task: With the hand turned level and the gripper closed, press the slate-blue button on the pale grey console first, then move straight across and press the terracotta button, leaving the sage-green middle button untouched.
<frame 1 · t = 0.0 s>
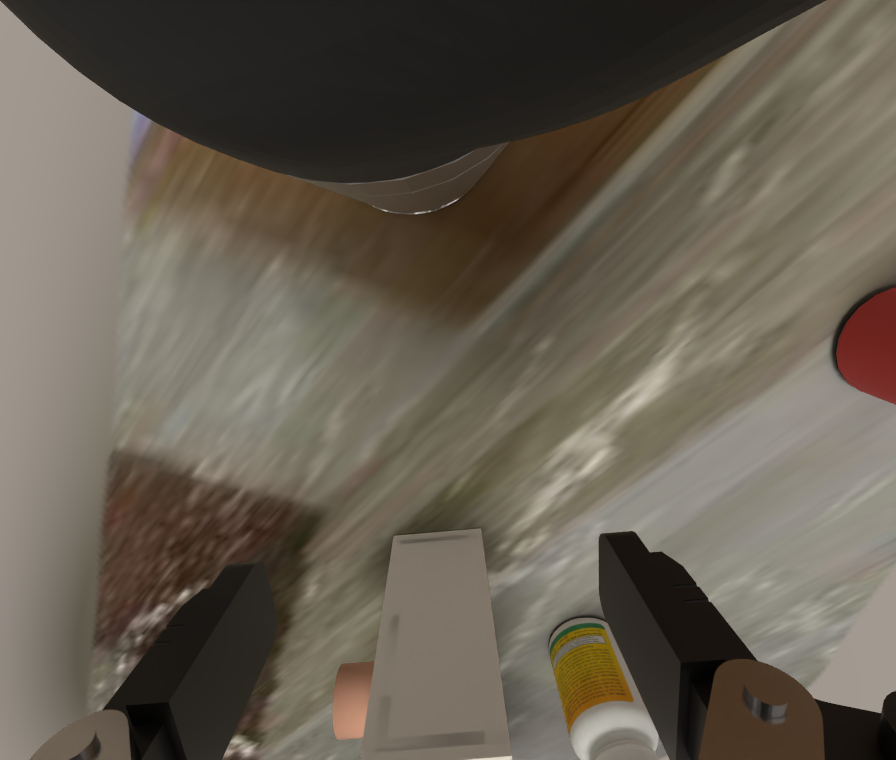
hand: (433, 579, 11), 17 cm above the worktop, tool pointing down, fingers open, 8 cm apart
beer can: (881, 337, 27), on the worktop
console: (451, 652, 34), on the worktop
supplement bottle: (581, 639, 34), on the worktop
terracotta button: (376, 697, 23), point 9 cm above the worktop, slide at 0.0 cm
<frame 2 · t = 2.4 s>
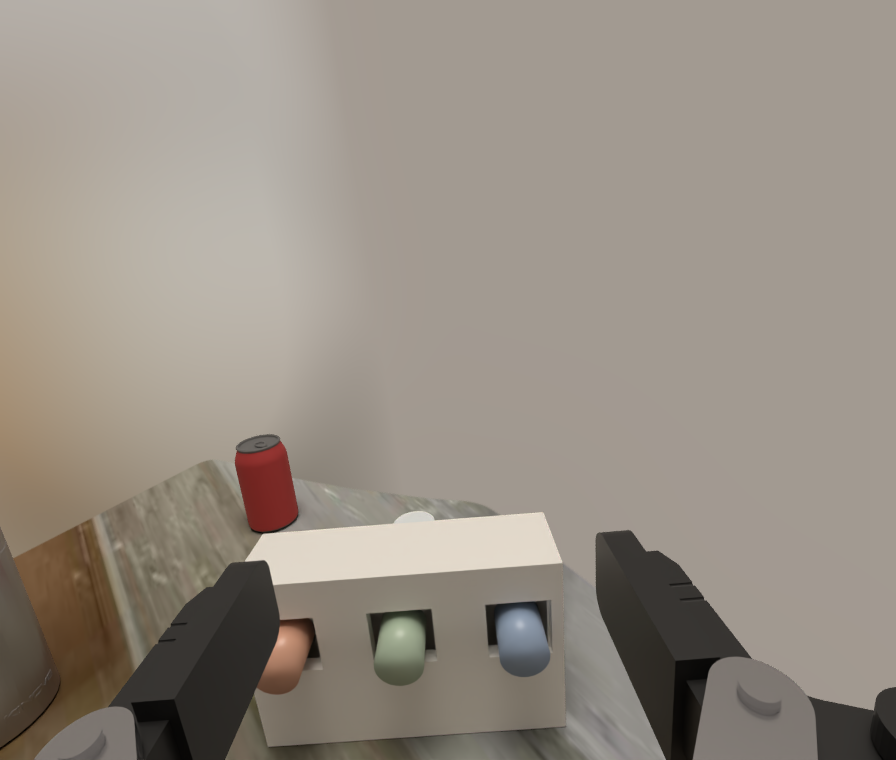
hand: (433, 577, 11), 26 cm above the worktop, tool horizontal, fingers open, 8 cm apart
sage button: (401, 642, 30), point 9 cm above the worktop, slide at 0.0 cm
beer can: (275, 521, 63), on the worktop
blue button: (520, 634, 30), point 9 cm above the worktop, slide at 0.0 cm
console: (418, 698, 36), on the worktop
supplement bottle: (424, 606, 46), on the worktop
terracotta button: (284, 651, 30), point 9 cm above the worktop, slide at 0.0 cm
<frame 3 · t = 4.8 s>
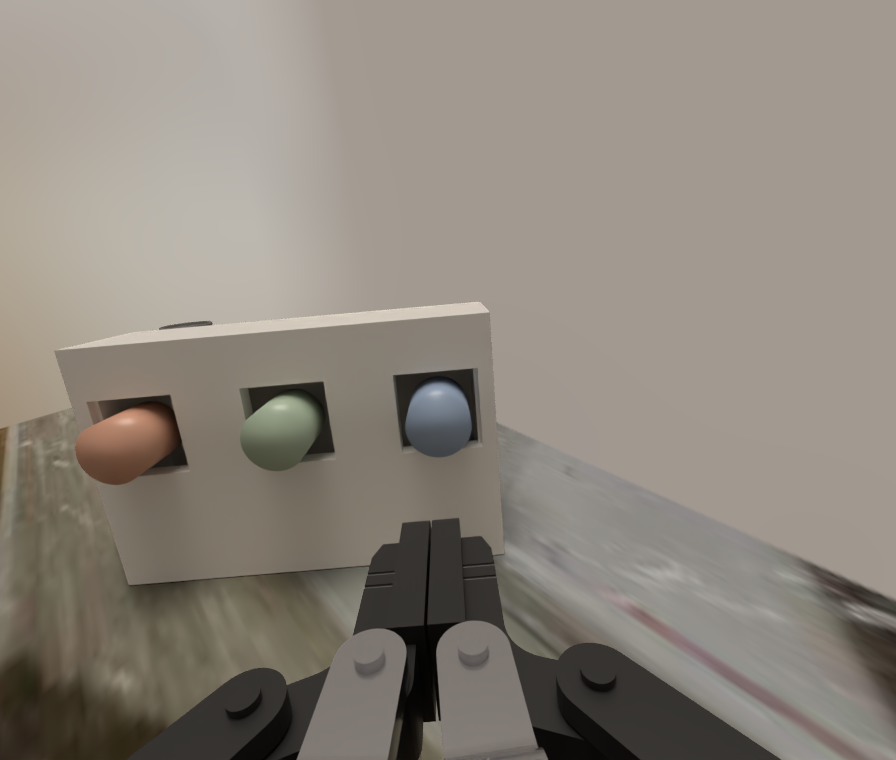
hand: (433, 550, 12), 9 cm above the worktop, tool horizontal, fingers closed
sage button: (286, 427, 23), point 9 cm above the worktop, slide at 0.0 cm
blue button: (438, 414, 23), point 9 cm above the worktop, slide at 0.0 cm
console: (328, 538, 29), on the worktop
terracotta button: (134, 440, 23), point 9 cm above the worktop, slide at 0.0 cm
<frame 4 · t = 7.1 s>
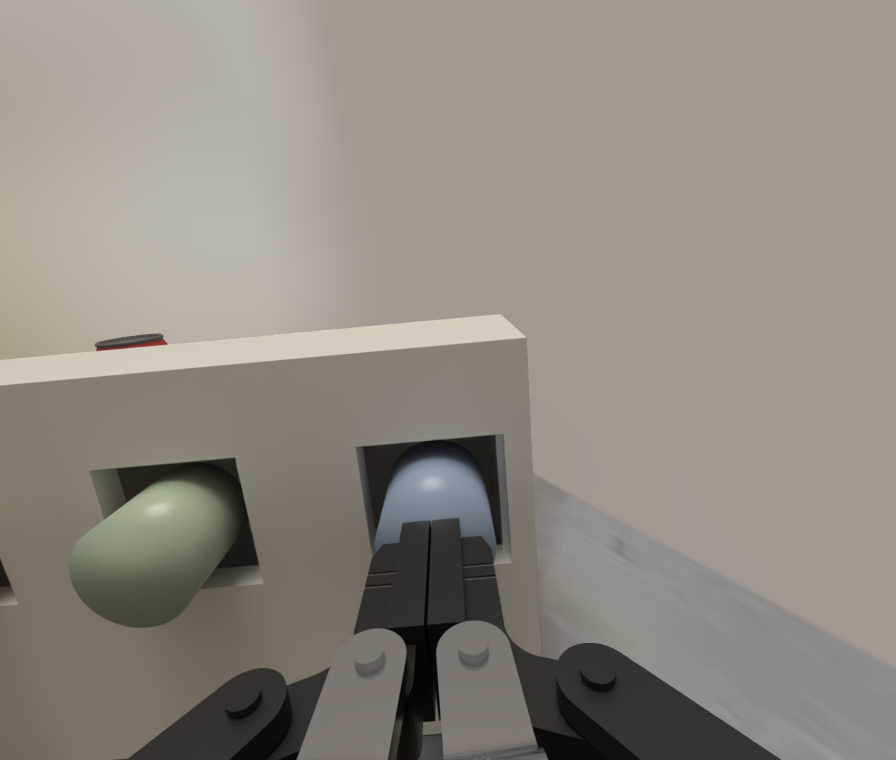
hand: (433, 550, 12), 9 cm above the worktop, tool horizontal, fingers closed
sage button: (171, 536, 14), point 9 cm above the worktop, slide at 0.0 cm
beer can: (161, 454, 46), on the worktop
blue button: (436, 512, 14), point 9 cm above the worktop, slide at 0.1 cm, touching gripper
console: (270, 675, 19), on the worktop
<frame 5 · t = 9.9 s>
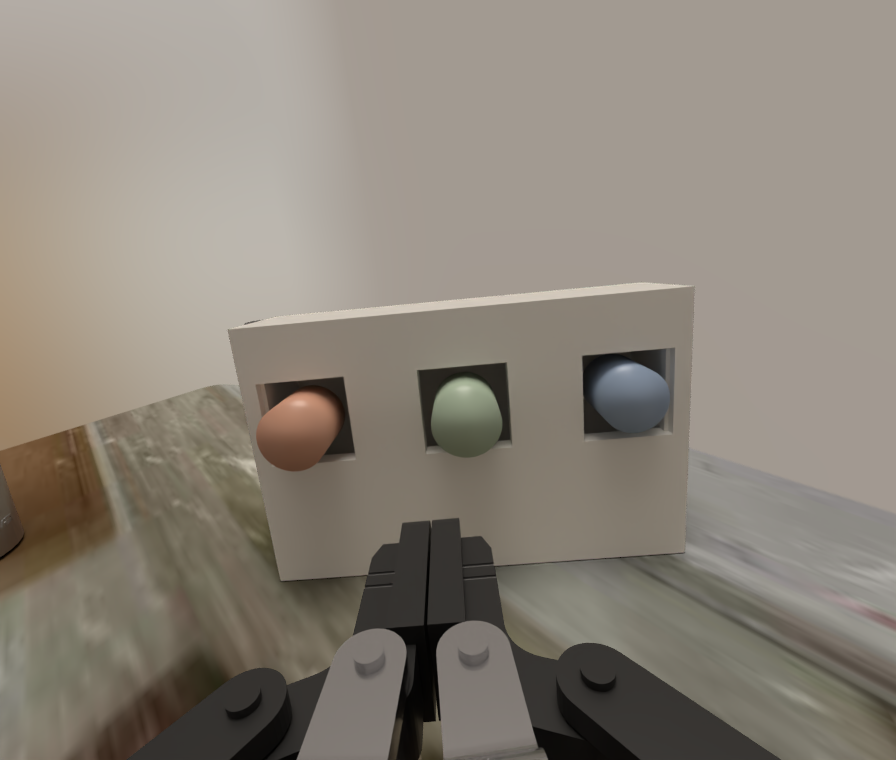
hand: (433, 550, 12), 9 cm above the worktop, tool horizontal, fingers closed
sage button: (465, 412, 22), point 9 cm above the worktop, slide at 0.0 cm
blue button: (621, 390, 23), point 9 cm above the worktop, slide at 1.3 cm
console: (476, 535, 27), on the worktop
terracotta button: (304, 425, 22), point 9 cm above the worktop, slide at 0.0 cm
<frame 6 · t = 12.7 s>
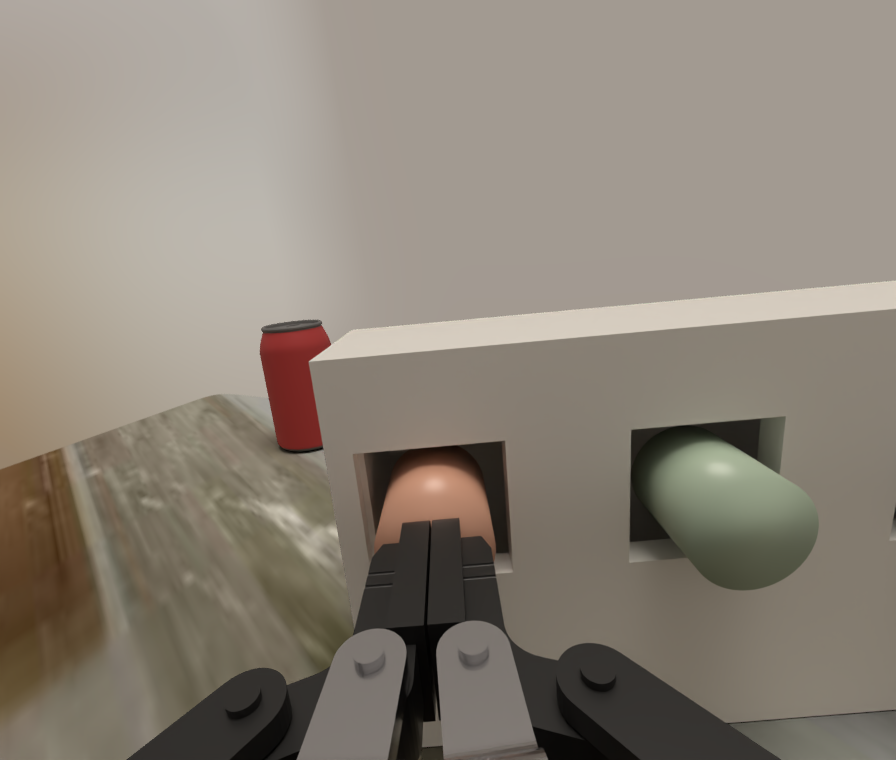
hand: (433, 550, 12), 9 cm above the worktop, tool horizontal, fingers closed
sage button: (712, 499, 13), point 9 cm above the worktop, slide at 0.0 cm
beer can: (312, 442, 46), on the worktop
console: (651, 653, 18), on the worktop
terracotta button: (436, 513, 14), point 9 cm above the worktop, slide at 0.5 cm, touching gripper
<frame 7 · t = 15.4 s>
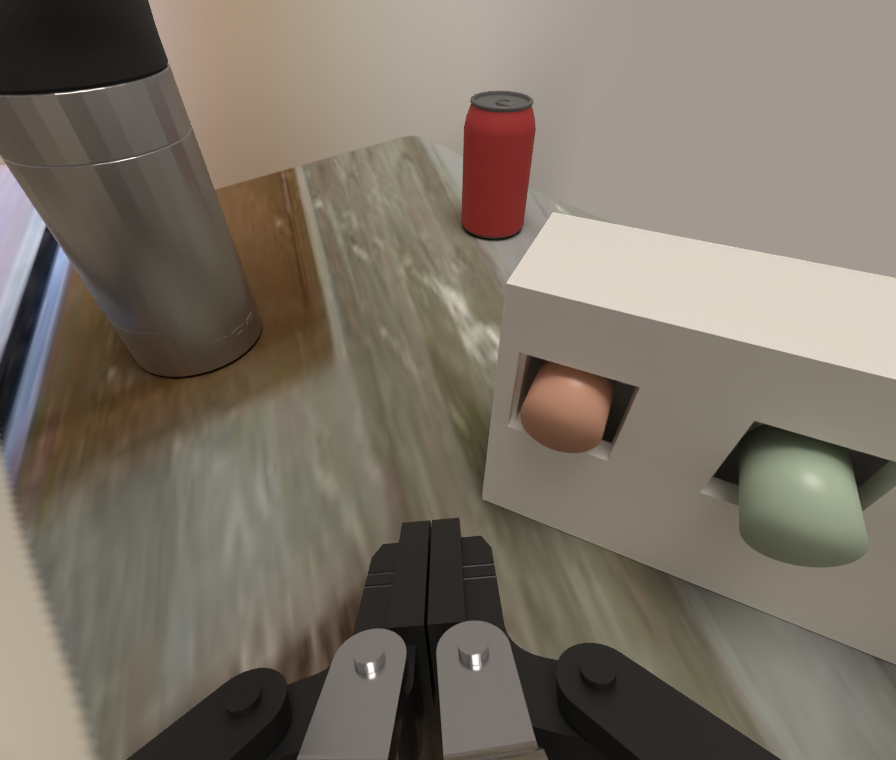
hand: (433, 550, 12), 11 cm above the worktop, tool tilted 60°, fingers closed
sage button: (794, 491, 15), point 9 cm above the worktop, slide at 0.0 cm
beer can: (491, 228, 48), on the worktop
console: (695, 530, 24), on the worktop
terracotta button: (571, 393, 18), point 9 cm above the worktop, slide at 1.3 cm
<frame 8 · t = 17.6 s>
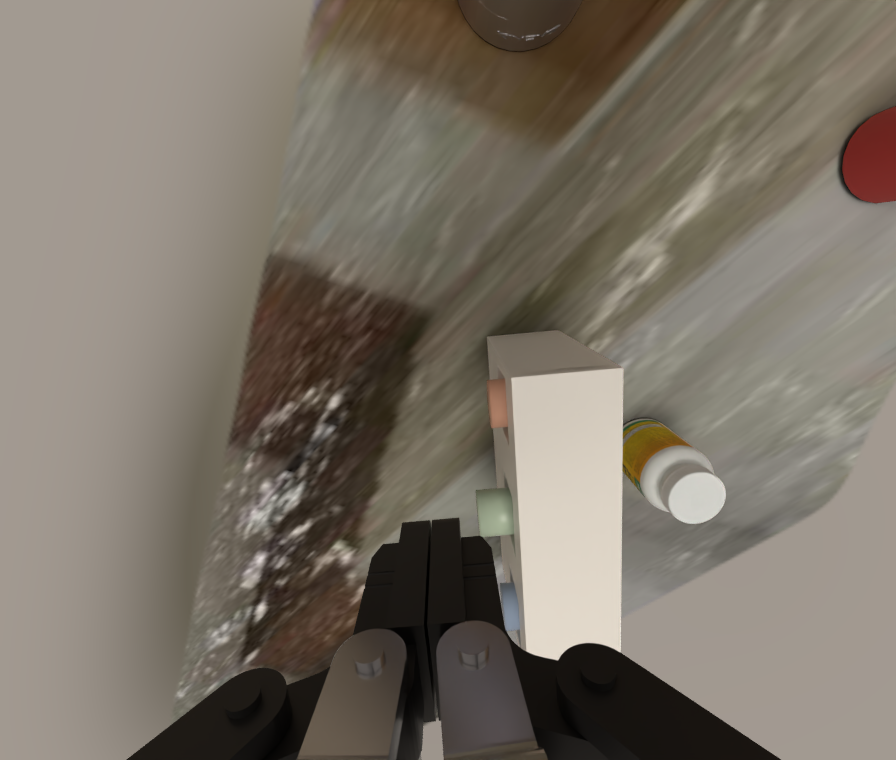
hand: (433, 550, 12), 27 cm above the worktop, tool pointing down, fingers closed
sage button: (503, 511, 32), point 9 cm above the worktop, slide at 0.0 cm
beer can: (877, 159, 35), on the worktop
blue button: (527, 604, 34), point 9 cm above the worktop, slide at 1.3 cm
console: (528, 454, 40), on the worktop
supplement bottle: (638, 443, 40), on the worktop
terracotta button: (516, 401, 30), point 9 cm above the worktop, slide at 1.3 cm
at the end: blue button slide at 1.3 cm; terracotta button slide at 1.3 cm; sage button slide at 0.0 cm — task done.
